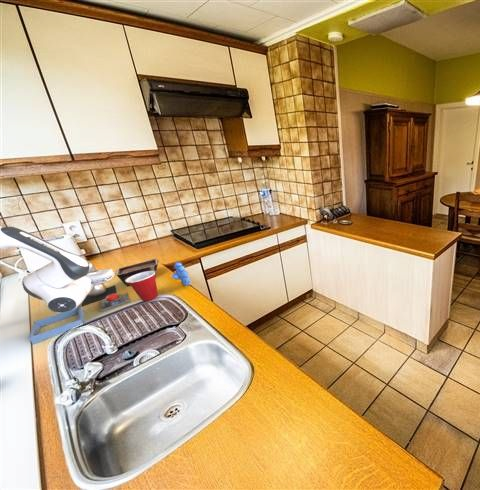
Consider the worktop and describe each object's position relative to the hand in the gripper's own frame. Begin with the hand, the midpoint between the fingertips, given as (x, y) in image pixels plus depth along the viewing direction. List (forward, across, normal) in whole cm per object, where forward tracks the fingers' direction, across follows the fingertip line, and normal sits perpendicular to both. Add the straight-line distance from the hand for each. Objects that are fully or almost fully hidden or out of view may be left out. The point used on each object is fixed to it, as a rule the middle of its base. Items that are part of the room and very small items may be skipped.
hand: (88, 273), depth 122 cm
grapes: (-14, -35, +12) cm, 39 cm away
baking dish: (+8, -15, +12) cm, 21 cm away
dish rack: (-22, +7, +12) cm, 26 cm away
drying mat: (-1, 0, +12) cm, 12 cm away
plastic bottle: (-1, 0, +11) cm, 11 cm away
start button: (-14, -8, +9) cm, 19 cm away
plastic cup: (-18, -22, +12) cm, 31 cm away
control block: (-14, -8, +12) cm, 20 cm away
